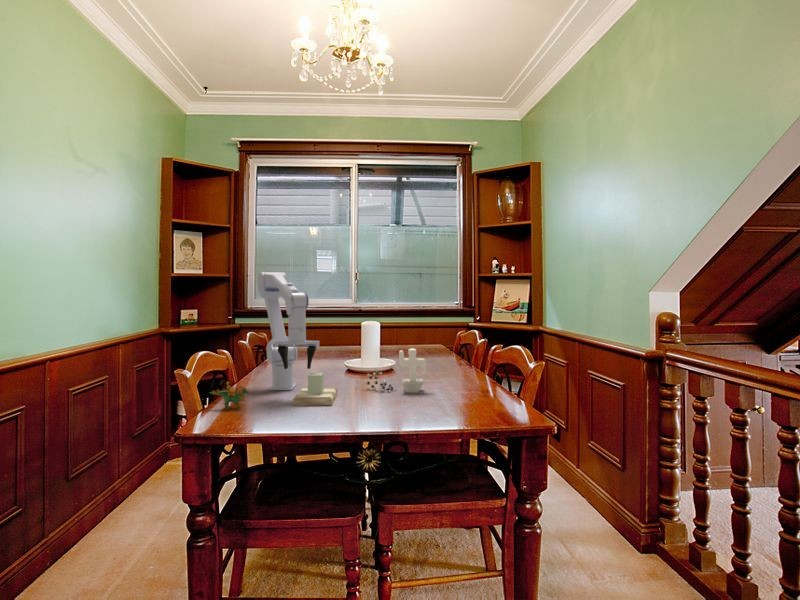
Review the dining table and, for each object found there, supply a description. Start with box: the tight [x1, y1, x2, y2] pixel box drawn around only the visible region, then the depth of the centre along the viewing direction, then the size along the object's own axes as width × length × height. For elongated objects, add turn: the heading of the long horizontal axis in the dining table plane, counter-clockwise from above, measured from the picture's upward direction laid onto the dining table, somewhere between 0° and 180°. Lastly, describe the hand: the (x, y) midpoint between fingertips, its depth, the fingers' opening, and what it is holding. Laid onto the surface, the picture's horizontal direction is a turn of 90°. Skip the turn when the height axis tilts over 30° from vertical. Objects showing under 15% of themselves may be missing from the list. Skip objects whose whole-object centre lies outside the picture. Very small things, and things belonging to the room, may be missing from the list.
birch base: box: [292, 386, 338, 407], centre depth 148 cm, size 14×12×2 cm
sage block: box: [307, 372, 325, 394], centre depth 147 cm, size 4×4×6 cm
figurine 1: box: [209, 381, 249, 410], centre depth 138 cm, size 3×12×8 cm, turn 90°
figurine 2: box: [398, 347, 427, 394], centre depth 159 cm, size 7×9×15 cm
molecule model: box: [363, 368, 398, 393], centre depth 161 cm, size 6×12×8 cm, turn 71°
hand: (297, 368), depth 153 cm, fingers open, 7 cm apart
